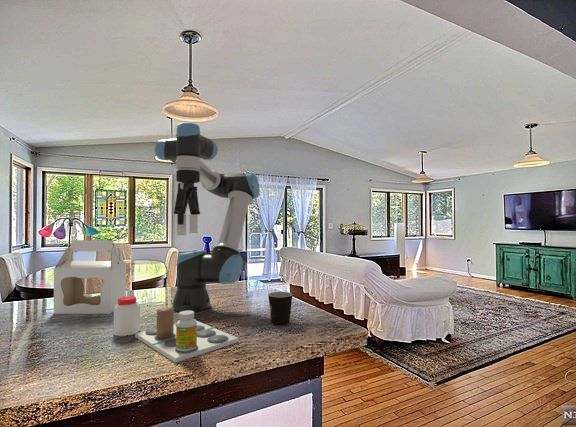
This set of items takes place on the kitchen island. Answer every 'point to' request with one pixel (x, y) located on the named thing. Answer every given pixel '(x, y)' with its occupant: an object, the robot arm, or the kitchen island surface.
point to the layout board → (166, 337)
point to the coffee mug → (280, 307)
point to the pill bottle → (126, 316)
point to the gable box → (71, 272)
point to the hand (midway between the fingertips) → (187, 234)
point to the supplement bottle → (186, 331)
